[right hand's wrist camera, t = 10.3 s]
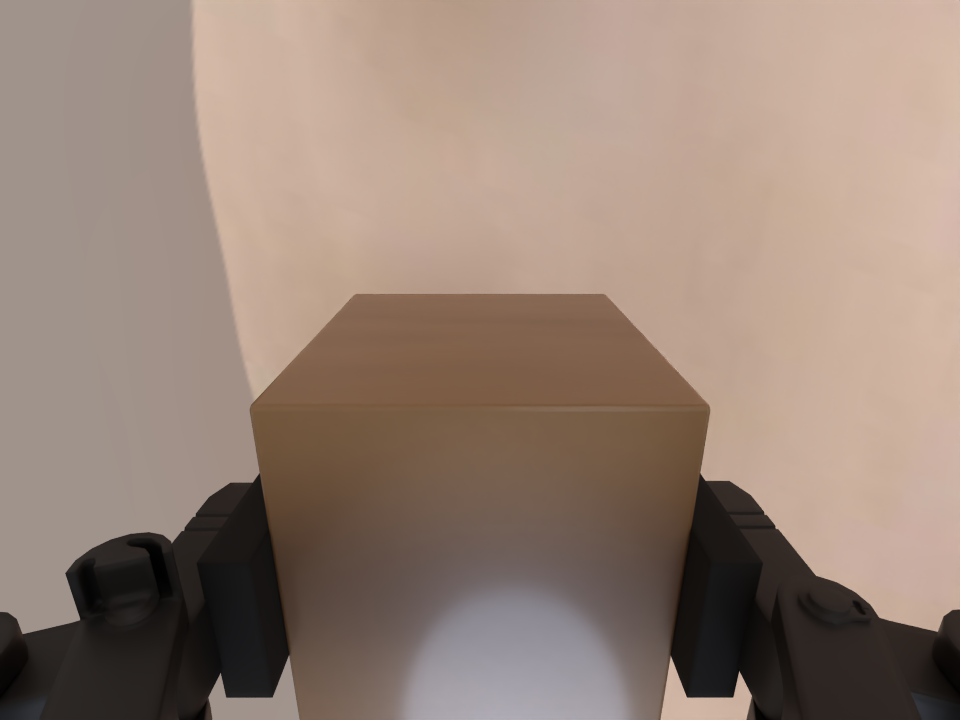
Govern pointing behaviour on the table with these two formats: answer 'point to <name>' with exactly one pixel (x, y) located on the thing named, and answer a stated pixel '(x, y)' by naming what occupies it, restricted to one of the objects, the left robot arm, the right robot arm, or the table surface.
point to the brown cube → (480, 509)
